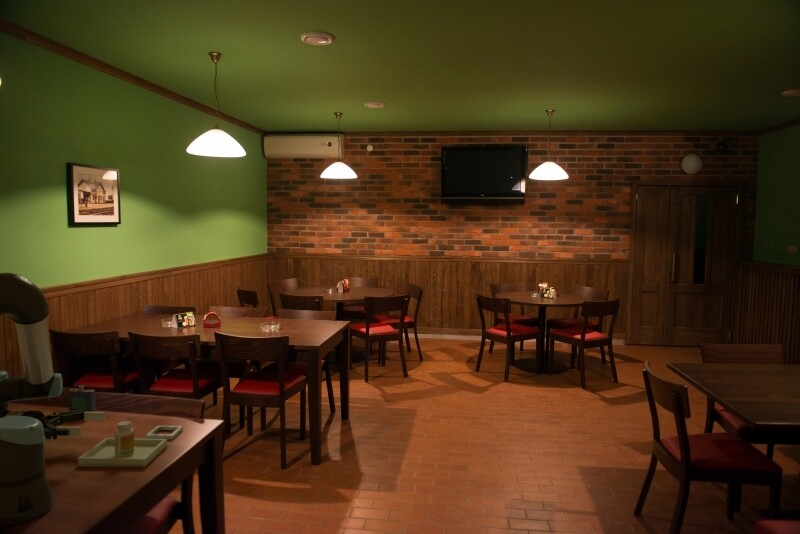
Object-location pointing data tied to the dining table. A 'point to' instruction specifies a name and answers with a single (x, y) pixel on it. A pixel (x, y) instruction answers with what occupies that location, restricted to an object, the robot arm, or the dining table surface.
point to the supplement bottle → (124, 439)
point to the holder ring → (153, 434)
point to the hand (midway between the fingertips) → (93, 423)
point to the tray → (139, 458)
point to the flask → (81, 399)
